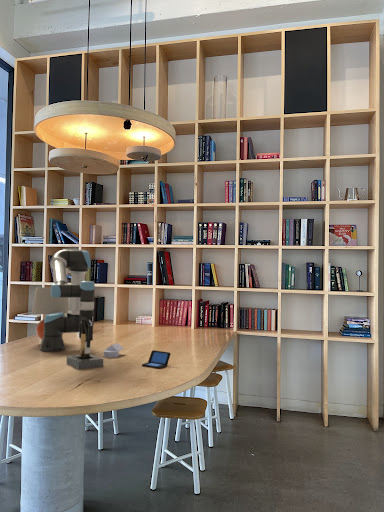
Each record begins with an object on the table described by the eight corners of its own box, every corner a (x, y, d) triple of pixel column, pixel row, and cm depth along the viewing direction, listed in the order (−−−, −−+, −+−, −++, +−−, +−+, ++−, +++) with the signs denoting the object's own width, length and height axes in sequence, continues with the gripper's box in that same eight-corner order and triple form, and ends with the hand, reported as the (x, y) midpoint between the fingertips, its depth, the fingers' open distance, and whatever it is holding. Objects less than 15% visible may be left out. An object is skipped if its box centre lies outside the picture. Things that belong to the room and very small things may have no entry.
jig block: (66, 363, 228) (66, 356, 228) (90, 361, 237) (90, 353, 237) (78, 369, 215) (78, 361, 216) (103, 366, 224) (103, 358, 224)
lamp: (73, 341, 300) (75, 287, 301) (59, 347, 275) (61, 288, 277) (40, 340, 302) (43, 286, 304) (23, 346, 277) (26, 287, 279)
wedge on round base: (110, 353, 261) (100, 356, 249) (111, 342, 262) (101, 345, 249) (123, 354, 259) (114, 358, 247) (124, 343, 259) (114, 346, 247)
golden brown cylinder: (78, 355, 227) (79, 333, 227) (87, 354, 230) (88, 332, 230) (82, 357, 223) (83, 334, 223) (91, 356, 226) (92, 334, 226)
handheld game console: (140, 366, 227) (141, 352, 227) (151, 363, 236) (152, 350, 237) (160, 369, 221) (160, 355, 221) (170, 366, 230) (171, 352, 231)
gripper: (73, 308, 232) (72, 350, 231) (87, 311, 218) (85, 356, 217) (86, 308, 237) (84, 349, 236) (100, 310, 223) (98, 354, 222)
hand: (85, 352), depth 226 cm, fingers closed on golden brown cylinder, 5 cm apart
